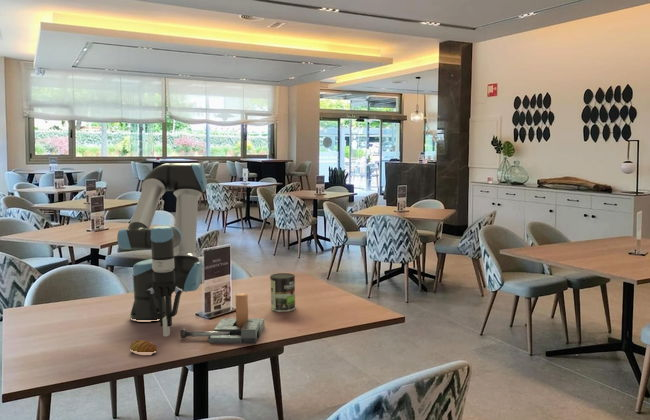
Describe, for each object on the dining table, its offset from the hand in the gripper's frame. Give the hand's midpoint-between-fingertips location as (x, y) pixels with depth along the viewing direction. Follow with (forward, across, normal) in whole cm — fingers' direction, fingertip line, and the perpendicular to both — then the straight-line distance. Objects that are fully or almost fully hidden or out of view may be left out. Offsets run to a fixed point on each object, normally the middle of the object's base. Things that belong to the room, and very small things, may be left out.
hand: (166, 335), depth 202 cm
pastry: (+2, -3, -13) cm, 13 cm away
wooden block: (+1, +26, +8) cm, 27 cm away
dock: (+1, +25, +5) cm, 25 cm away
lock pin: (+1, +14, 0) cm, 14 cm away
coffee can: (+2, +37, +38) cm, 53 cm away
